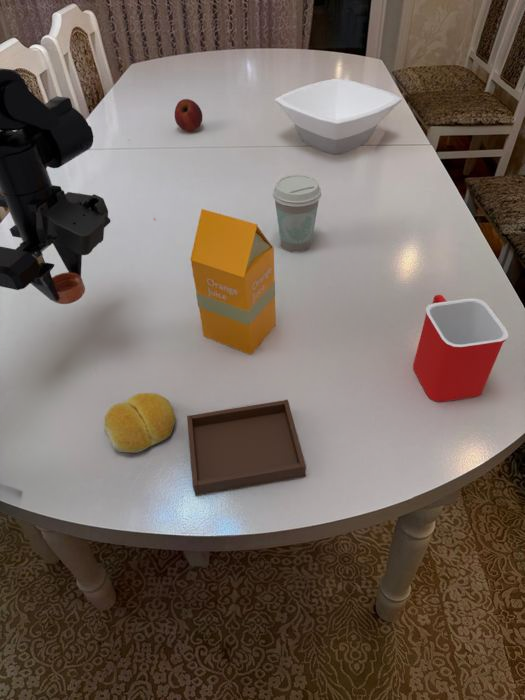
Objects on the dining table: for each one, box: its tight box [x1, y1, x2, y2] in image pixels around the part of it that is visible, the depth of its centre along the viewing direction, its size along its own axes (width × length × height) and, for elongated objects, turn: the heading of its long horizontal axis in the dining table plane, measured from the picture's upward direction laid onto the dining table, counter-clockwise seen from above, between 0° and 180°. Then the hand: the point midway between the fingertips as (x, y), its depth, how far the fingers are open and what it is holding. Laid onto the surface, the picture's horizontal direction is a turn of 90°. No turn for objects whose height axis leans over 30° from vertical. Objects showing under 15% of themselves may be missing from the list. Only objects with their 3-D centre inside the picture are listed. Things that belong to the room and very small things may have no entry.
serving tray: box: [186, 399, 307, 497], centre depth 61 cm, size 13×10×2 cm
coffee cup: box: [272, 174, 322, 253], centre depth 90 cm, size 9×8×12 cm
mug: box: [412, 294, 510, 402], centre depth 67 cm, size 12×8×11 cm
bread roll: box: [104, 392, 176, 454], centre depth 64 cm, size 8×9×4 cm
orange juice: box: [189, 208, 277, 356], centre depth 71 cm, size 8×9×20 cm
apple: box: [174, 98, 203, 133], centre depth 133 cm, size 7×8×8 cm
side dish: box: [52, 271, 86, 305], centre depth 70 cm, size 5×5×2 cm
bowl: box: [274, 77, 402, 155], centre depth 124 cm, size 24×25×10 cm
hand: (66, 289), depth 70 cm, fingers closed on side dish, 5 cm apart
